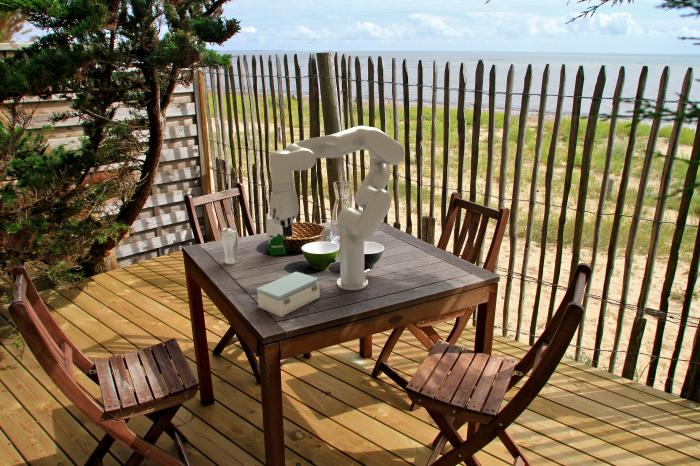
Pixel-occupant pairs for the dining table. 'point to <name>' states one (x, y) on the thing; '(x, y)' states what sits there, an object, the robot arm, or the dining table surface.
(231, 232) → the beer glass
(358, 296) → the dining table surface
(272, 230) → the milk carton
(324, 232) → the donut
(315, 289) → the box
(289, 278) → the lid
